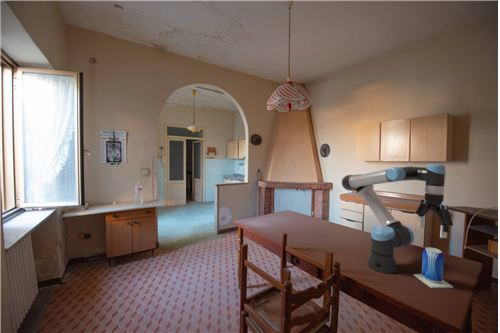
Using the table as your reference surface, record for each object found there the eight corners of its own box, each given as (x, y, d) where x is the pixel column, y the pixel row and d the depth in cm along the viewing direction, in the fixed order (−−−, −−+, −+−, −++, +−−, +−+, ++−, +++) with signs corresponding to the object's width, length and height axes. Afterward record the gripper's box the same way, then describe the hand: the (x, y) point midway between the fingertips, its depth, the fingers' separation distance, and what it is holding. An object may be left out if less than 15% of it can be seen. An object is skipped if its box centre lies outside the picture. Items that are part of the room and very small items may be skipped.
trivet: (431, 288, 105) (431, 286, 105) (413, 275, 116) (413, 274, 116) (452, 287, 105) (452, 286, 105) (433, 275, 116) (433, 273, 116)
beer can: (422, 272, 117) (424, 245, 116) (443, 279, 111) (444, 250, 110) (420, 279, 111) (421, 249, 110) (441, 286, 105) (443, 255, 104)
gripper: (465, 198, 98) (462, 242, 99) (422, 189, 123) (420, 224, 124) (449, 198, 98) (446, 242, 99) (409, 189, 123) (407, 224, 124)
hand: (431, 232), depth 112 cm, fingers open, 13 cm apart
